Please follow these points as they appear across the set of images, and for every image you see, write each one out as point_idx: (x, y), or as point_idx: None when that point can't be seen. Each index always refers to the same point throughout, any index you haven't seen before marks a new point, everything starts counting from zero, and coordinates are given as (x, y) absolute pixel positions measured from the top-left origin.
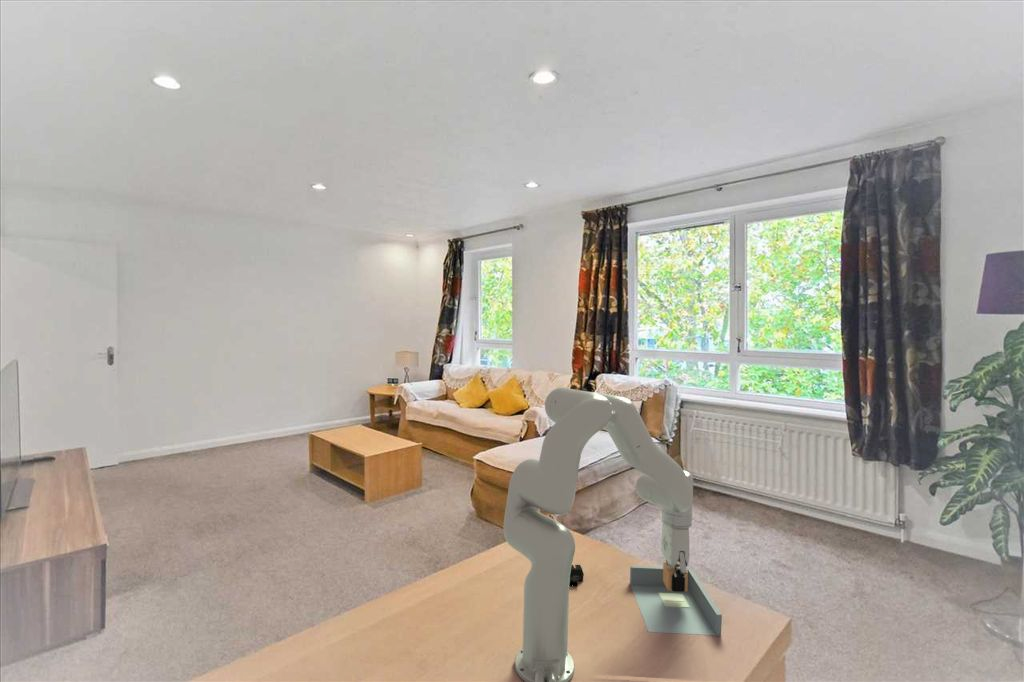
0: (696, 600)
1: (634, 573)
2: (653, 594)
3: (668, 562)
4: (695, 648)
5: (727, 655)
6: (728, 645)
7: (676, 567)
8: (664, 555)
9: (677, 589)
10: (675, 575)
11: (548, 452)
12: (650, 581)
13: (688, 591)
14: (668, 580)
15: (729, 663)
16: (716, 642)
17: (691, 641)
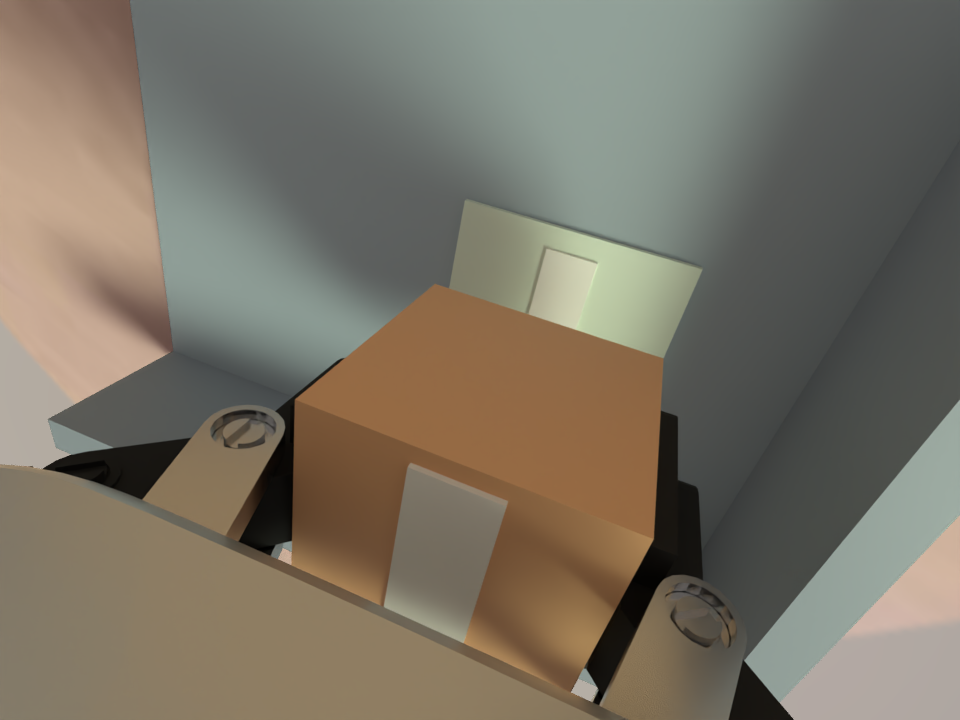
0: None
1: None
2: (697, 198)
3: (36, 497)
4: (72, 162)
5: (68, 305)
6: (141, 363)
7: (408, 588)
8: (397, 670)
9: None
10: (207, 428)
11: None
12: (905, 276)
13: None
14: (378, 335)
15: (17, 274)
16: (150, 321)
17: (127, 176)
